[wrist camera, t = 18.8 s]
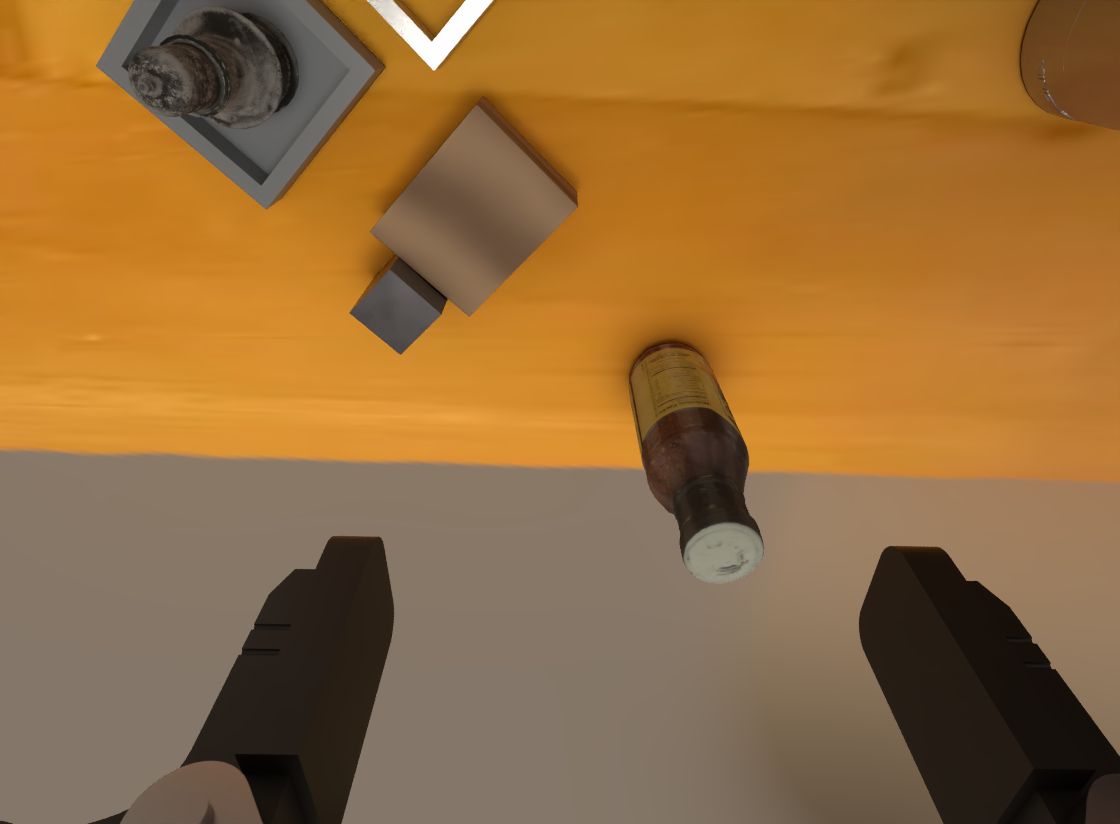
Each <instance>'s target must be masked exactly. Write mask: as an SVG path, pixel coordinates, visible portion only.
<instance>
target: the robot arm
mask: <svg viewBox="0 0 1120 824" xmlns="http://www.w3.org/2000/svg"><path fill="white" fill-rule="evenodd" d="M1021 69H1022V78H1023V81H1024V84H1025V86H1026V89H1027V92H1028V94H1029V95H1030V96H1031V98H1032V99H1033V100H1034V102H1035V103H1036V104H1037V105H1038V106H1040V107H1041V108H1043V109H1044V110H1045V111H1047V112H1048V113H1051V114H1054V115H1057V116H1060V117H1063V118H1068V119H1071V120H1077V121H1081V122H1085V123H1090V124H1094V125H1098V126H1102V127H1106V128H1110V129H1114V130H1119V131H1120V0H1040V1H1039V3H1038V5H1037V7H1036V9H1035V11H1034V13H1033V15H1032V17H1031V19H1030V21H1029V23H1028V27H1027V30H1026V33H1025V37H1024V40H1023V44H1022V54H1021ZM393 623H394V604H393V597H392V591H391V586H390V579H389V573H388V568H387V561H386V555H385V549H384V544H383V541H382V539H381V538H380V537H357V536H333V537H331V538H330V539H329V541H328V542H327V544H326V546H325V549H324V551H323V553H322V555H321V558H320V560H319V562H318V564H317V567H316V569H295V570H294V571H293V572H292V573H291V574H290V575H289V576H287V577H286V578H285V579H284V580H283V581H282V582H281V583H280V584H279V585H278V586H277V587H276V588H275V589H274V590H273V591H272V592H271V593H270V594H269V595H268V598H267V599H266V602H265V603H264V605H263V608H262V609H261V612H260V614H259V616H258V618H257V619H256V621H255V624H254V625H255V626H254V630H251V631H250V634H249V635H248V638H247V640H246V641H245V644H244V646H243V647H242V654H241V655H238V658H237V659H236V661H235V664H234V666H233V667H232V669H231V671H230V674H229V676H228V678H227V680H226V682H225V684H224V686H223V688H222V690H221V692H220V694H219V696H218V698H217V700H216V702H215V704H214V706H213V708H212V710H211V712H210V714H209V716H208V718H207V720H206V722H205V724H204V726H203V728H202V730H201V732H200V734H199V736H198V738H197V740H196V742H195V744H194V746H193V748H192V750H191V751H190V753H189V755H188V756H187V758H186V760H185V761H184V763H183V764H182V765H181V767H180V768H178V769H176V770H174V771H172V772H170V773H169V774H167V775H165V776H163V777H162V778H160V779H159V780H158V781H156V782H155V783H154V784H152V785H151V786H150V787H149V788H147V789H146V790H145V791H144V792H143V793H142V794H141V795H140V796H139V797H138V798H137V800H136V801H135V802H134V803H133V804H132V805H131V807H130V808H129V809H128V810H126V811H123V812H121V813H119V814H117V815H114V816H111V817H108V818H106V819H102V820H99V821H96V822H92V823H89V824H341V823H342V819H343V816H344V812H345V808H346V805H347V801H348V797H349V794H350V790H351V786H352V782H353V778H354V775H355V772H356V768H357V764H358V760H359V757H360V753H361V750H362V745H363V742H364V738H365V735H366V731H367V727H368V724H369V720H370V716H371V712H372V709H373V705H374V702H375V697H376V694H377V691H378V687H379V683H380V679H381V676H382V672H383V669H384V665H385V661H386V658H387V654H388V650H389V646H390V643H391V638H392V631H393ZM859 633H860V639H861V643H862V647H863V650H864V652H865V655H866V657H867V659H868V661H869V663H870V665H871V668H872V669H873V672H874V674H875V676H876V678H877V681H878V683H879V685H880V687H881V689H882V691H883V694H884V696H885V698H886V700H887V702H888V704H889V706H890V709H891V711H892V713H893V715H894V717H895V720H896V722H897V724H898V726H899V728H900V730H901V733H902V735H903V737H904V739H905V741H906V743H907V746H908V748H909V750H910V752H911V754H912V756H913V759H914V761H915V763H916V765H917V767H918V769H919V772H920V774H921V776H922V778H923V780H924V782H925V785H926V787H927V789H928V791H929V793H930V795H931V798H932V800H933V802H934V804H935V806H936V808H937V810H938V813H939V815H940V817H941V819H942V821H943V823H944V824H1120V756H1119V755H1118V754H1117V752H1116V751H1115V749H1114V748H1113V747H1112V745H1111V744H1110V743H1109V741H1108V740H1107V739H1106V737H1105V736H1104V735H1103V733H1102V732H1101V730H1100V729H1099V728H1098V726H1097V725H1096V724H1095V723H1094V721H1093V720H1092V718H1091V717H1090V716H1089V714H1088V713H1087V711H1086V710H1085V709H1084V707H1083V706H1082V705H1081V703H1080V702H1079V701H1078V699H1077V698H1076V697H1075V695H1074V694H1073V693H1072V691H1071V690H1070V688H1069V687H1068V686H1067V684H1066V683H1065V682H1064V680H1063V679H1062V678H1061V676H1060V675H1059V673H1058V672H1057V671H1056V669H1051V666H1050V661H1049V660H1048V658H1047V657H1046V656H1045V654H1044V653H1043V652H1042V650H1041V649H1040V648H1039V646H1038V645H1037V644H1033V643H1032V637H1031V635H1030V634H1029V633H1028V632H1027V630H1026V629H1025V627H1024V626H1023V625H1022V623H1021V622H1020V620H1019V619H1018V618H1017V616H1016V615H1015V614H1014V612H1013V611H1012V610H1011V608H1010V607H1009V606H1008V605H1006V604H1005V603H1004V602H1003V601H1001V600H1000V599H999V598H998V597H996V596H995V595H994V594H992V593H991V592H990V591H989V590H988V589H987V588H985V587H984V586H982V585H981V584H980V583H979V582H978V581H966V580H965V578H964V577H963V575H962V574H961V572H960V571H959V569H958V568H957V567H956V565H955V564H954V562H953V561H952V559H951V558H950V557H949V555H948V554H947V553H946V552H945V551H944V550H943V549H941V548H939V547H912V546H889V547H887V548H885V549H884V551H883V552H882V554H881V556H880V559H879V562H878V565H877V567H876V570H875V573H874V575H873V578H872V581H871V584H870V586H869V589H868V592H867V595H866V598H865V600H864V603H863V606H862V608H861V612H860V617H859ZM0 824H12V823H8V822H5V821H0Z"/></svg>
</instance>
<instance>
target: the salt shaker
mask: <svg viewBox="0 0 1120 824" xmlns="http://www.w3.org/2000/svg"><path fill="white" fill-rule="evenodd" d="M128 75H129V81H130V84H131V87H132V89H133V91H134V93H135V95H136V96H137V97H138V99H139V100H140V101H141V102H142V103H143V104H144V105H145V106H146V107H147V108H148V109H150V110H151V111H153V112H155V113H157V114H160V115H163V116H167V117H178V116H182V115H185V114H189V115H192V116H196V117H205V118H207V119H209V120H211V121H212V122H214V123H216V124H218V125H221V126H224V127H228V128H231V129H248V128H252V127H255V126H259V125H260V124H262V123H263V122H265V121H266V120H268V119H269V118H270V117H271V116H272V114H273V113H275V112H279V111H280V110H282V109H283V108H284V107H286V106H287V105H288V104H289V103H290V101H291V100H292V99H293V98H294V96H295V93H296V90H297V87H298V81H299V70H298V63H297V59H296V56H295V54H294V51H293V49H292V46H291V45H290V43H289V42H288V40H287V39H286V37H285V36H284V34H283V33H282V32H281V31H280V30H279V29H278V28H277V27H276V26H275V25H274V24H272V23H270V22H269V21H267V20H266V19H264V18H262V17H260V16H257V15H254V14H251V13H239V12H236V11H233V10H229V9H226V8H223V7H210V6H205V7H202V8H198V9H195V10H192V11H191V12H189V13H188V14H187V15H185V16H184V17H183V18H181V19H180V21H179V22H178V24H177V26H176V27H175V29H174V30H173V33H172V36H170V37H167V38H166V39H165V40H163V41H162V42H161V43H160V45H159V46H153V47H147V48H144V49H141V50H140V51H139V52H137V53H136V54H135V55H134V56H133V57H132V59H131V61H130V63H129V68H128Z"/></svg>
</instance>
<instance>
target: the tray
mask: <svg viewBox="0 0 1120 824" xmlns="http://www.w3.org/2000/svg"><path fill="white" fill-rule="evenodd" d="M205 6H210V7H223V8H226V9H229V10H233V11H236V12H239V13H251V14H254V15H257V16H260V17H262V18H264V19H266V20H267V21H269V22H270V23H272V24H274V25H275V26H276V27H277V28H278V29H279V30H280V31H281V32H282V33H283V34H284V36H285V37H286V39H287V40H288V42H289V43H290V45H291V46H292V49H293V51H294V54H295V56H296V59H297V63H298V70H299V81H298V87H297V90H296V93H295V96H294V98H293V99H292V100H291V101H290V103H289V104H288V105H287V106H286V107H284V108H283V109H282V110H280V111H279V112H275V113H273V114H272V116H271V117H270V118H269V119H268V120H266V121H265V122H263V123H262V124H260V125H259V126H255V127H252V128H248V129H231V128H228V127H224V126H221V125H218V124H216V123H214V122H212V121H211V120H209V119H207V118H205V117H196V116H192V115H189V114H185V115H182V116H178V117H167V116H163V115H160V114H157V113H155V112H153V111H151V110H150V109H148V108H147V107H146V106H145V105H144V104H143V103H142V102H141V101H140V100H139V99H138V97H137V96H136V95H135V93H134V91H133V89H132V87H131V84H130V81H129V75H128V68H129V63H130V61H131V59H132V57H133V56H134V55H135V54H136V53H137V52H139V51H140V50H141V49H144V48H147V47H153V46H159V45H160V43H161V42H162V41H163V40H165V39H166V38H167V37H170V36H172V33H173V30H174V29H175V27H176V26H177V24H178V22H179V21H180V19H181V18H183V17H184V16H185V15H187V14H188V13H189V12H191V11H192V10H195V9H198V8H202V7H205ZM96 66H97V67H98V68H99V69H100V70H101V71H103V72H104V73H105V74H106V75H107V76H109V77H110V78H111V79H112V80H113V81H114V82H116V83H117V84H118V85H119V86H120V87H122V88H123V89H124V90H125V91H126V92H127V93H129V94H130V95H131V96H132V97H133V98H135V99H136V100H137V101H138V102H139V103H141V104H142V105H143V106H144V107H145V108H146V109H148V110H149V111H150V112H151V113H152V114H154V115H155V116H156V117H157V118H158V119H160V120H161V121H162V122H163V123H164V124H165V125H167V126H168V127H169V128H170V129H171V130H173V131H174V132H175V133H176V134H177V135H179V136H180V137H181V138H182V139H183V140H184V141H186V142H187V143H188V144H189V145H190V146H192V147H193V148H194V149H195V150H196V151H197V152H199V153H200V154H201V155H202V156H203V157H205V158H206V159H207V160H208V161H209V162H211V163H212V164H213V165H214V166H215V167H216V168H218V169H219V170H220V171H221V172H222V173H224V174H225V175H226V176H227V177H228V178H230V179H231V180H232V181H233V182H234V183H235V184H237V185H238V186H239V187H240V188H241V189H243V190H244V191H245V192H246V193H247V194H249V195H250V196H251V197H252V198H253V199H254V200H256V201H257V202H258V203H259V204H260V205H262V206H263V207H264V208H265V209H268V208H269V207H271V206H272V205H273V204H275V203H276V202H278V201H279V200H281V199H282V197H283V196H284V195H285V194H286V192H287V191H288V190H289V188H290V187H291V186H292V185H293V183H294V182H295V181H296V180H297V178H298V177H299V176H300V175H301V173H302V172H303V171H304V170H305V168H306V167H307V166H308V164H309V163H310V162H311V161H312V159H313V158H314V157H315V156H316V154H317V153H318V152H319V151H320V149H321V148H322V147H323V146H324V144H325V143H326V142H327V140H328V139H329V138H330V137H331V135H332V134H333V133H334V132H335V130H336V129H337V128H338V127H339V125H340V124H341V123H342V122H343V120H344V119H345V118H346V117H347V115H348V114H349V113H350V111H351V110H352V109H353V108H354V106H355V105H356V104H357V103H358V101H359V100H360V99H361V98H362V96H363V95H364V94H365V93H366V91H367V90H368V89H369V87H370V86H371V85H372V84H373V82H374V81H375V80H376V79H377V77H378V76H379V75H380V74H381V72H382V71H383V70H384V69H385V66H384V65H383V64H382V63H381V62H380V61H379V60H378V59H377V58H376V56H375V55H374V54H373V53H372V52H371V51H370V50H369V49H368V48H367V47H366V46H365V45H364V44H363V43H362V42H361V41H360V40H359V39H358V38H357V37H356V36H355V35H354V34H353V33H352V32H351V31H350V30H349V29H348V28H347V27H346V26H345V25H344V24H343V23H342V22H341V21H340V20H339V19H338V18H337V17H336V16H335V15H334V14H333V13H332V12H331V11H330V10H329V9H328V8H327V7H326V6H325V5H324V4H323V3H322V2H321V1H320V0H134V2H133V3H132V5H131V7H130V8H129V10H128V12H127V14H126V15H125V17H124V19H123V20H122V22H121V24H120V26H119V27H118V29H117V31H116V32H115V34H114V36H113V38H112V39H111V41H110V43H109V44H108V46H107V48H106V49H105V51H104V53H103V55H102V56H101V58H100V60H99V61H98V63H97V65H96Z"/></svg>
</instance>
